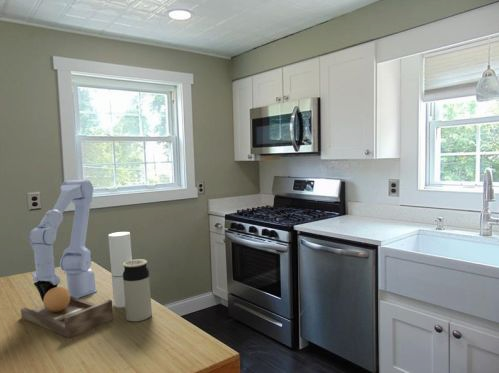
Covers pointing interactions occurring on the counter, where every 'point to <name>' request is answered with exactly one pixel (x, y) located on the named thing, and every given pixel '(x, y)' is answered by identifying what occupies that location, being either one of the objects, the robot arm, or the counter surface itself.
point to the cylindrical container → (119, 263)
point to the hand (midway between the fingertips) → (48, 301)
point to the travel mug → (137, 290)
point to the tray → (71, 316)
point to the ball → (56, 299)
